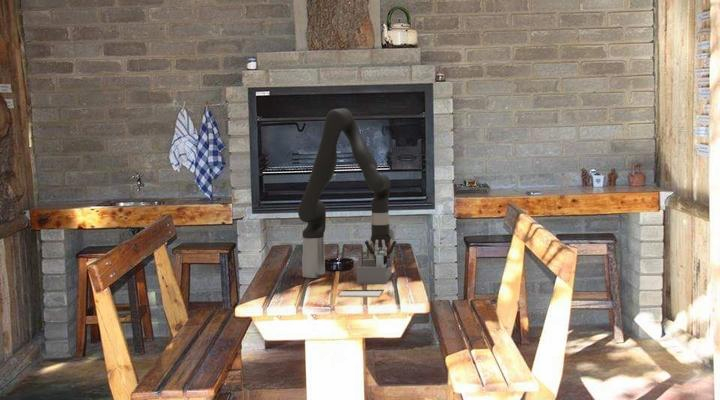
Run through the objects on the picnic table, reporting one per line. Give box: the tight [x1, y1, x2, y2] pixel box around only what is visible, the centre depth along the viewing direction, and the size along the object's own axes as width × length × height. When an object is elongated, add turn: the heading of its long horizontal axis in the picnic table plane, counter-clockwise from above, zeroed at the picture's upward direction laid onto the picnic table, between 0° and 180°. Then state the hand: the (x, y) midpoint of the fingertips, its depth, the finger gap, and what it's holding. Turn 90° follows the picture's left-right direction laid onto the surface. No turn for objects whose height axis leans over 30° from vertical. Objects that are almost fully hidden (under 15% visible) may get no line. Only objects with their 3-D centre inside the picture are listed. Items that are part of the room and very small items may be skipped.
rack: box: [355, 258, 393, 285], centre depth 374 cm, size 12×18×8 cm, turn 171°
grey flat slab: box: [376, 251, 386, 267], centre depth 373 cm, size 2×13×12 cm, turn 171°
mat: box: [338, 289, 385, 298], centre depth 354 cm, size 16×14×1 cm
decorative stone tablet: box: [371, 226, 395, 266], centre depth 402 cm, size 19×6×30 cm
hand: (381, 264), depth 373 cm, fingers closed on grey flat slab, 2 cm apart
